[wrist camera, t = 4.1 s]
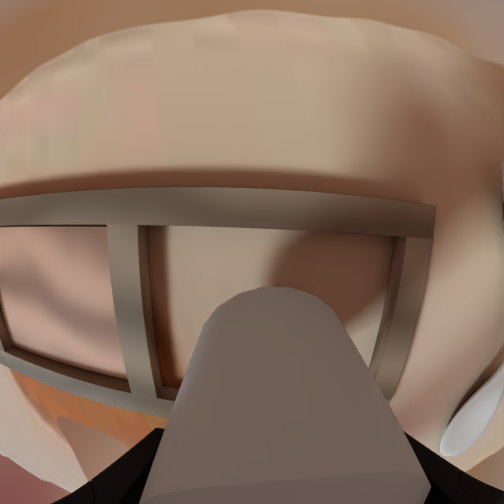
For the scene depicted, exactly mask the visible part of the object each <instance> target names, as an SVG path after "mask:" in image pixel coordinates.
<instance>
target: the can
mask: <svg viewBox="0 0 504 504" xmlns="http://www.w3.org/2000/svg"><path fill="white" fill-rule="evenodd" d="M430 488H431V485H430V483H429V481H428V479H427V477H426V475H425V473H424V471H423V469H422V467H421V465H420V463H419V461H418V459H417V457H416V455H415V453H414V451H413V449H412V447H411V445H410V443H409V441H408V439H407V438H406V436H405V434H404V432H403V430H402V428H401V426H400V424H399V423H398V421H397V419H396V417H395V415H394V413H393V411H392V410H391V408H390V406H389V404H388V402H387V401H386V399H385V397H384V395H383V393H382V392H381V390H380V388H379V386H378V384H377V383H376V381H375V379H374V377H373V376H372V374H371V372H370V370H369V369H368V367H367V365H366V364H365V362H364V360H363V358H362V357H361V355H360V353H359V352H358V350H357V348H356V346H355V345H354V343H353V341H352V340H351V338H350V336H349V335H348V333H347V331H346V330H345V328H344V326H343V325H342V323H341V322H340V320H339V318H338V317H337V315H336V314H335V312H334V310H333V309H332V308H331V307H330V306H328V305H327V304H326V303H324V302H323V301H322V300H320V299H319V298H318V297H316V296H315V295H313V294H310V293H307V292H304V291H301V290H298V289H295V288H292V287H261V288H257V289H254V290H250V291H247V292H243V293H239V294H237V295H236V296H234V297H233V298H231V299H230V300H228V301H226V302H225V303H223V304H222V305H220V306H219V307H217V309H216V310H215V311H214V312H213V314H212V315H211V316H210V318H209V319H208V320H207V321H206V323H205V324H204V326H203V328H202V331H201V333H200V336H199V339H198V341H197V344H196V347H195V349H194V352H193V355H192V357H191V360H190V362H189V365H188V368H187V370H186V373H185V376H184V379H183V381H182V384H181V387H180V389H179V392H178V395H177V397H176V400H175V403H174V406H173V408H172V411H171V414H170V417H169V419H168V422H167V425H166V428H165V430H164V433H163V436H162V439H161V442H160V445H159V447H158V450H157V453H156V456H155V459H154V462H153V464H152V467H151V470H150V473H149V476H148V479H147V482H146V485H145V488H144V491H143V494H142V497H141V499H140V502H139V504H424V502H425V500H426V497H427V495H428V493H429V491H430Z"/></svg>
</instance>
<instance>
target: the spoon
mask: <svg viewBox="0 0 504 504" xmlns="http://www.w3.org/2000/svg"><path fill="white" fill-rule="evenodd" d="M502 187H503V200H504V157H503V160H502ZM503 224H504V223H503ZM503 392H504V360H503V362H502V364H501V365H500V367H499V368H498V370H497V371H496V372H495V374H494V375H493V376H492V377H491V378H490V379H489V380H488V381H487V382H486V383H485V384H484V385H483V386H482V387H481V388H479V389H478V390H477V391H476V392H475V393H474V394H473V395H472V396H471V397H470V398H469V399H468V400H467V402H466V403H465V404H464V405H463V406H462V407H461V408H460V410H459V411H458V412H457V414H456V415H455V416H454V418H453V419H452V420H451V422H450V423H449V425H448V427H447V429H446V431H445V433H444V435H443V438H442V440H441V444H440V452H441V454H442V455H444V456H454V455H457V454H459V453H461V452H463V451H464V450H466V449H467V448H469V447H470V446H471V445H472V444H473V443H474V442H475V441H476V440H477V439H478V438H479V437H480V436H481V435H482V433H483V432H484V431H485V429H486V428H487V426H488V424H489V423H490V421H491V420H492V418H493V416H494V414H495V412H496V410H497V408H498V405H499V403H500V400H501V397H502V395H503Z"/></svg>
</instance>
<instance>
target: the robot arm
mask: <svg viewBox="0 0 504 504" xmlns="http://www.w3.org/2000/svg"><path fill="white" fill-rule="evenodd" d="M164 430H165V429H163V428H155V429H154V430H153V431H151V432H150V433H149V434H148V435H147V436H146V437H144V438H143V439H142V440H141V441H140V442H138V443H137V444H136V445H135V446H134V447H132V448H131V449H130V450H129V451H128V452H126V453H125V454H124V455H123V456H121V457H120V458H119V459H118V460H116V461H115V462H114V463H112V464H111V465H110V466H109V467H107V468H106V469H105V470H104V471H102V472H101V473H99V474H98V475H97V476H96V477H94V478H93V479H92V480H91V481H89V482H87V483H86V484H85V485H83V486H82V487H80V488H79V489H77V490H76V491H74V492H73V493H71V494H69V495H67V496H65V497H63V498H62V499H60V500H58V501H55V502H53V503H51V504H139V502H140V499H141V497H142V494H143V491H144V488H145V485H146V482H147V479H148V476H149V473H150V470H151V467H152V464H153V462H154V459H155V456H156V453H157V450H158V447H159V445H160V442H161V439H162V436H163V433H164ZM403 432H404V431H403ZM404 434H405V436H406V438H407V439H408V441H409V443H410V445H411V447H412V449H413V451H414V453H415V455H416V457H417V459H418V461H419V463H420V465H421V467H422V469H423V471H424V473H425V475H426V477H427V479H428V481H429V483H430V485H431V488H430V491H429V493H428V495H427V497H426V500H425V502H424V504H504V491H502V490H500V489H497V488H495V487H493V486H490V485H488V484H485V483H483V482H481V481H479V480H477V479H475V478H474V477H472V476H470V475H468V474H467V473H465V472H464V471H462V470H459V468H457V467H456V466H454V465H453V464H451V463H449V462H448V461H446V460H445V459H443V458H442V457H440V456H439V455H437V454H436V453H434V452H433V451H431V450H430V449H429V448H427V447H426V446H424V445H423V444H421V443H420V442H418V441H417V440H415V439H414V438H413V437H411V436H410V435H408V434H407V433H406V432H404Z"/></svg>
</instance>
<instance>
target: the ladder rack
mask: <svg viewBox="0 0 504 504" xmlns="http://www.w3.org/2000/svg"><path fill="white" fill-rule="evenodd" d="M435 215H436V206H433V205H427V204H420V203H413V202H406V201H398V200H391V199H382V198H374V197H365V196H355V195H345V194H334V193H322V192H309V191H294V190H277V189H255V188H222V187H156V188H123V189H103V190H87V191H73V192H61V193H50V194H40V195H31V196H22V197H14V198H7V199H0V226H6V225H107V226H19V227H0V363H1V364H3V365H4V366H6V367H8V368H11V369H13V370H15V371H17V372H19V373H21V374H23V375H25V376H28V377H30V378H32V379H34V380H37V381H39V382H42V383H44V384H47V385H49V386H52V387H54V388H57V389H60V390H62V391H65V392H68V393H71V394H74V395H77V396H80V397H83V398H86V399H89V400H92V401H96V402H99V403H103V404H106V405H110V406H114V407H118V408H122V409H126V410H130V411H134V412H139V413H144V414H149V415H154V416H159V417H165V418H169V417H170V414H171V411H172V408H173V406H174V403H175V400H176V397H177V395H178V392H179V389H180V388H173V387H166V386H162V380H161V374H160V368H159V361H158V355H157V347H156V340H155V331H154V323H153V313H152V302H151V290H150V276H149V258H148V225H172V226H210V227H239V228H264V229H286V230H306V231H324V232H341V233H357V234H372V235H386V236H395V241H394V249H393V257H392V264H391V271H390V277H389V283H388V288H387V294H386V299H385V304H384V309H383V314H382V319H381V323H380V327H379V332H378V336H377V340H376V344H375V348H374V352H373V355H372V359H371V363H370V366H369V370H370V372H371V374H372V376H373V377H374V379H375V381H376V383H377V384H378V386H379V388H380V390H381V392H382V393H383V395H384V397H385V399H386V401H387V402H388V404H389V403H390V401H391V399H392V396H393V394H394V391H395V388H396V386H397V383H398V380H399V378H400V375H401V372H402V369H403V366H404V363H405V360H406V357H407V354H408V351H409V348H410V345H411V341H412V338H413V334H414V331H415V327H416V323H417V320H418V316H419V312H420V308H421V303H422V299H423V294H424V290H425V285H426V280H427V274H428V269H429V263H430V256H431V250H432V242H433V234H434V225H435ZM16 346H17V347H16ZM21 348H22V349H21ZM26 350H27V351H26ZM29 351H30V352H29ZM34 353H35V354H34ZM37 354H38V355H37ZM40 355H41V356H40ZM43 356H44V357H43ZM46 357H47V358H46ZM49 358H50V359H49ZM52 359H53V360H52ZM55 360H56V361H55ZM58 361H59V362H58ZM61 362H62V363H61ZM64 363H65V364H64ZM67 364H68V365H67ZM71 365H72V366H71ZM74 366H75V367H74ZM78 367H79V368H78ZM81 368H82V369H81ZM85 369H86V370H85ZM89 370H90V371H89ZM92 371H94V372H92ZM96 372H98V373H96ZM100 373H102V374H100ZM104 374H106V375H104ZM109 375H110V376H109ZM113 376H114V377H113ZM117 377H119V378H117ZM122 378H124V379H122ZM127 379H128V380H127Z"/></svg>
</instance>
